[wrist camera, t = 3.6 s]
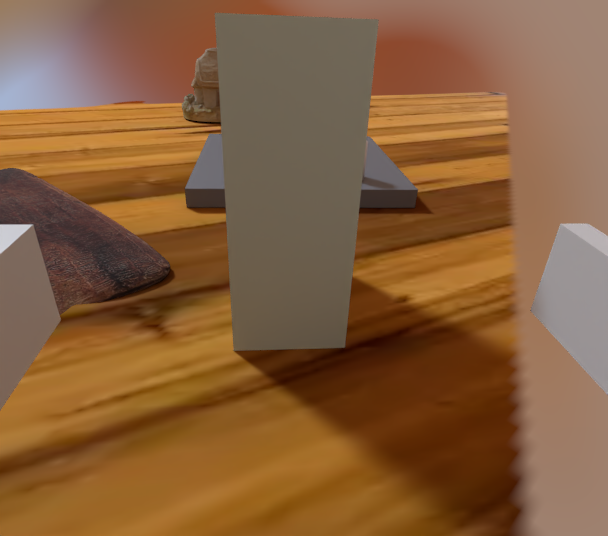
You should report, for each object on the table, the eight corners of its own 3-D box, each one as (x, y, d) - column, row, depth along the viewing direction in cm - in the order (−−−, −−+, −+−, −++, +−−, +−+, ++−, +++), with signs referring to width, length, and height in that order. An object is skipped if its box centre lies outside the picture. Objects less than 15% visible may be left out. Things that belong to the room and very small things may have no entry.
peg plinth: (186, 207, 34) (180, 148, 32) (210, 147, 50) (207, 105, 47) (414, 207, 36) (424, 151, 33) (368, 149, 51) (372, 109, 49)
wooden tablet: (-110, 177, 35) (26, 143, 40) (-94, 203, 36) (35, 166, 42) (-32, 337, 18) (177, 243, 24) (-9, 373, 20) (185, 277, 25)
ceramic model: (276, 112, 71) (277, 42, 66) (284, 127, 61) (285, 46, 56) (186, 111, 68) (179, 39, 64) (179, 127, 59) (171, 43, 54)
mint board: (233, 350, 20) (214, 12, 13) (240, 263, 27) (231, 14, 20) (344, 347, 20) (378, 19, 14) (323, 263, 27) (339, 18, 21)
